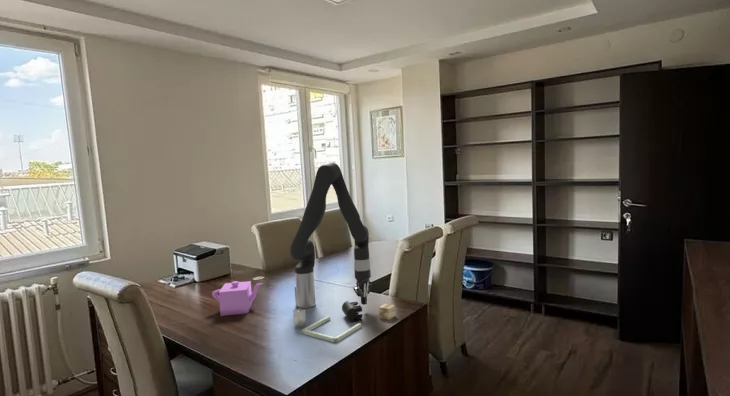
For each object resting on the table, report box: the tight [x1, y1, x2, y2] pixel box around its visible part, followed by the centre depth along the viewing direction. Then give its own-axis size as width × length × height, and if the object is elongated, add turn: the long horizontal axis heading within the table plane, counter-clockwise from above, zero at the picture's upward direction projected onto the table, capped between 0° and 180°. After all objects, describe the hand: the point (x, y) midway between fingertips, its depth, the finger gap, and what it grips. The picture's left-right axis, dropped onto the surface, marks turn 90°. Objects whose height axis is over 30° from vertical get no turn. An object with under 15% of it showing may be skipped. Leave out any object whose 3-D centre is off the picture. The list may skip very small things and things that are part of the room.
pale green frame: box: [301, 315, 362, 344], centre depth 168 cm, size 18×17×2 cm
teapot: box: [211, 280, 264, 317], centre depth 200 cm, size 15×25×14 cm, turn 99°
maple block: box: [378, 303, 396, 320], centre depth 180 cm, size 5×5×5 cm
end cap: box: [341, 300, 363, 323], centre depth 180 cm, size 10×7×7 cm
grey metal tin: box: [293, 308, 307, 330], centre depth 174 cm, size 5×5×7 cm
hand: (364, 304), depth 188 cm, fingers closed
